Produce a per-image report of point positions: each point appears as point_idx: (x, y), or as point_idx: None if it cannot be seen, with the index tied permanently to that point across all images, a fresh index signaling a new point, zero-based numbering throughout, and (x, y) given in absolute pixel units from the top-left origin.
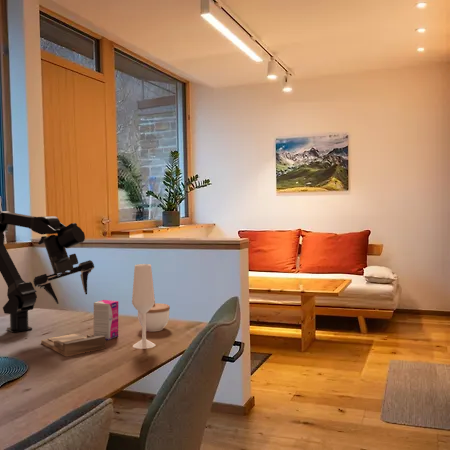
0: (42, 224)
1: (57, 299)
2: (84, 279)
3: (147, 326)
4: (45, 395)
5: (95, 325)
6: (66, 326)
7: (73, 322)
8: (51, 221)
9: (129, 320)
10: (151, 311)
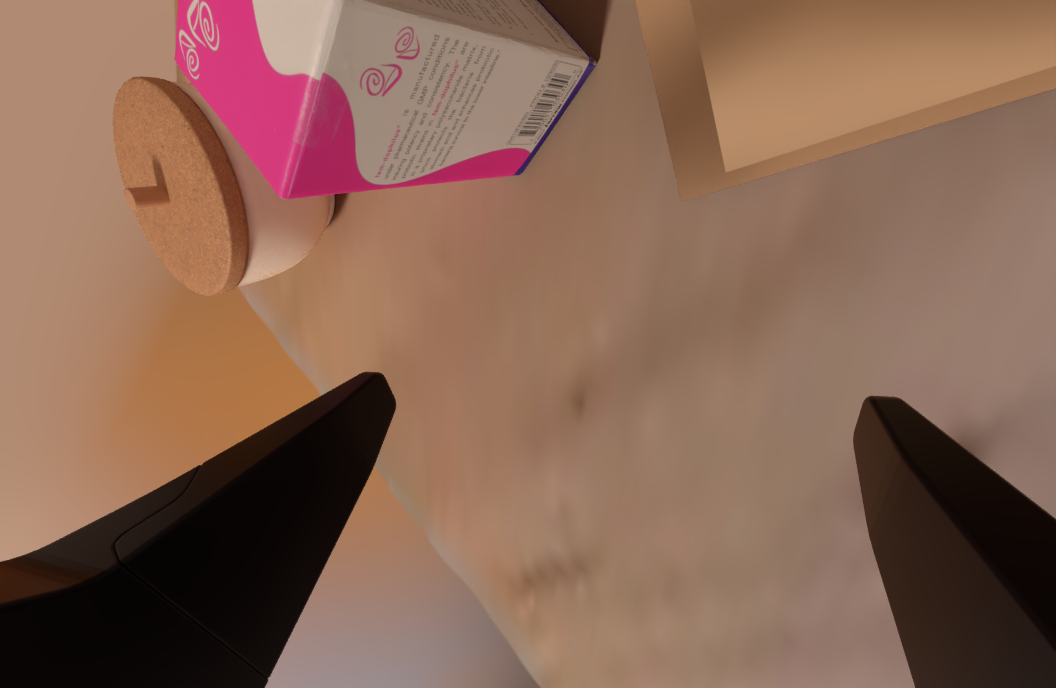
0: None
1: (897, 448)
2: (127, 535)
3: None
4: None
5: (520, 24)
6: (704, 541)
7: (641, 591)
8: None
9: (394, 423)
10: (165, 83)
